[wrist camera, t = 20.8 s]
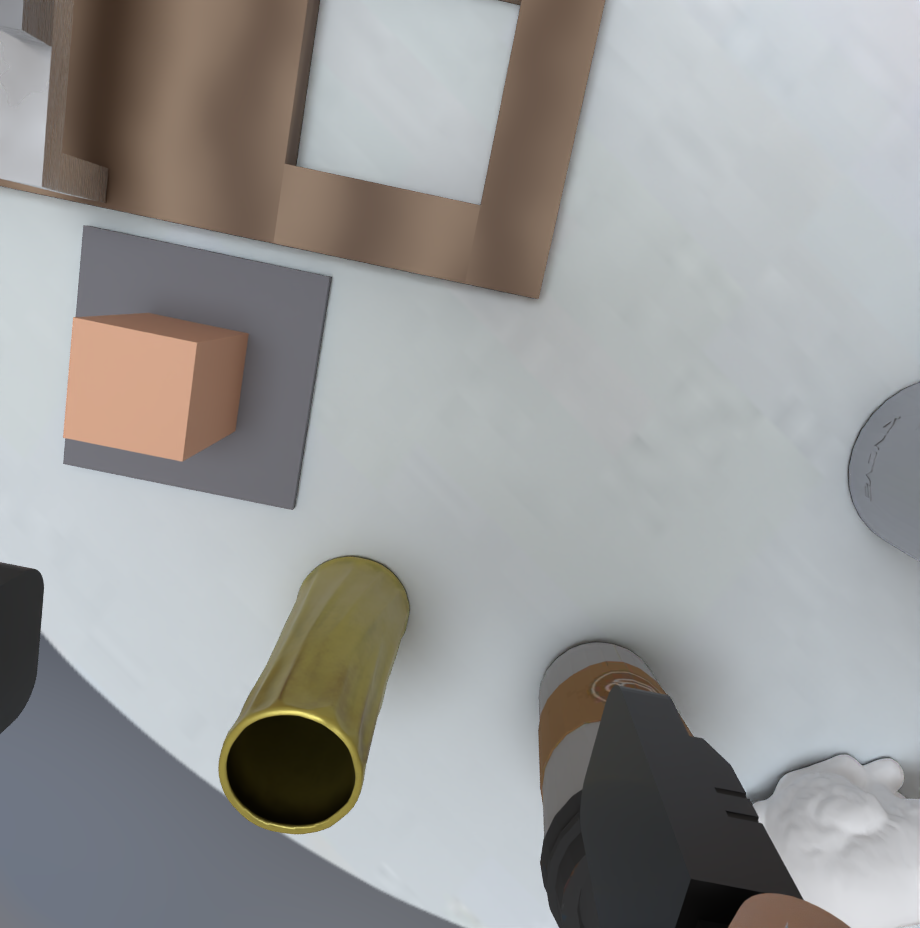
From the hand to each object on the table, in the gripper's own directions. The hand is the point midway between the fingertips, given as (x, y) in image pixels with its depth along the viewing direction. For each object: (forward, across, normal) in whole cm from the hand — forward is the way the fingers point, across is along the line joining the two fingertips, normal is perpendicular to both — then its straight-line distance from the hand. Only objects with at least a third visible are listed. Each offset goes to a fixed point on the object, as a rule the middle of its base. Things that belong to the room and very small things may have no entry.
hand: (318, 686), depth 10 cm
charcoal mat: (+28, +12, +1) cm, 31 cm away
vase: (+28, +2, +12) cm, 31 cm away
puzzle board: (+28, +10, -14) cm, 33 cm away
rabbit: (+28, -28, +18) cm, 44 cm away
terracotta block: (+28, +12, +1) cm, 30 cm away
